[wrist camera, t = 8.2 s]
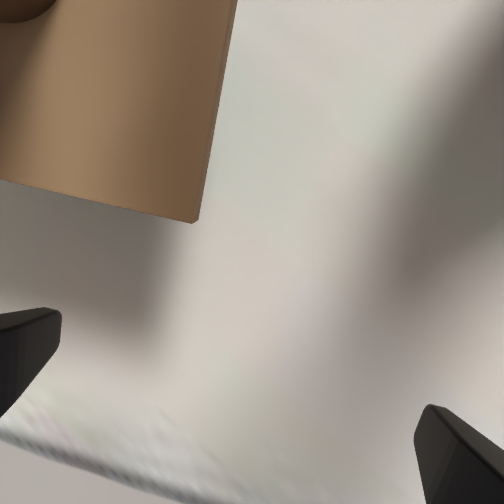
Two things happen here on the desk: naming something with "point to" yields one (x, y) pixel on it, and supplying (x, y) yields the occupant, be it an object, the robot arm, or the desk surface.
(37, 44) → the lid
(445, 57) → the desk surface
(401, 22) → the desk surface
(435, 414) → the robot arm
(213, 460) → the desk surface
